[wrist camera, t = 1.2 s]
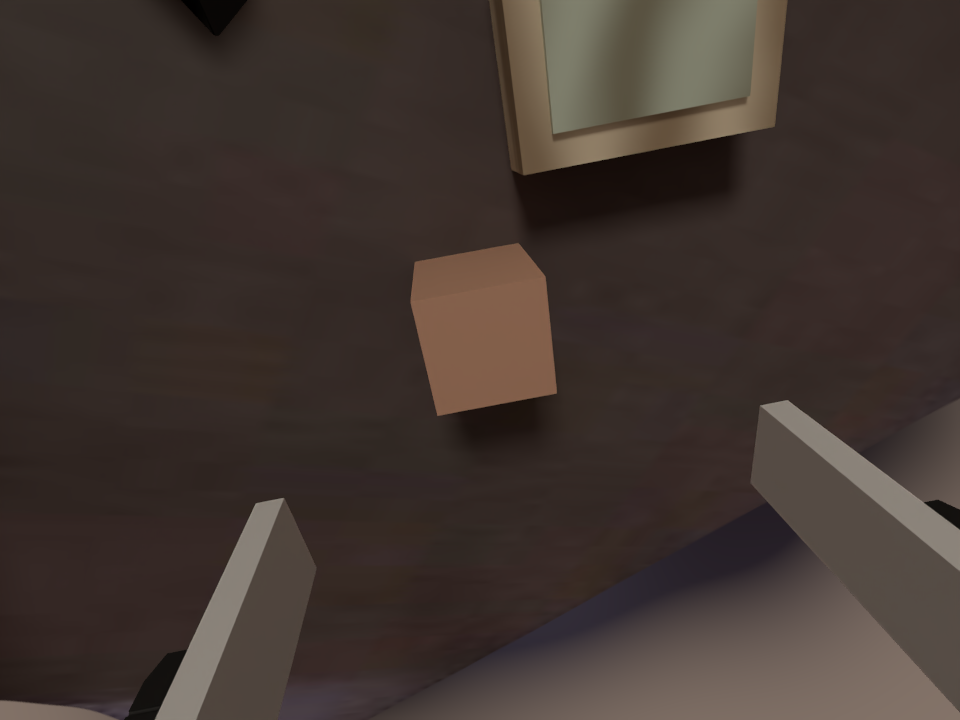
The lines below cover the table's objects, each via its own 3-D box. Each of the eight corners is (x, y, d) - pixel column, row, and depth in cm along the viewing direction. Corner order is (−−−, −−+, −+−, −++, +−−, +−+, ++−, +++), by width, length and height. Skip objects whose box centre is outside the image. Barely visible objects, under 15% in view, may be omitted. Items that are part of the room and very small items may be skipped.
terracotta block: (435, 355, 29) (437, 415, 23) (414, 261, 27) (410, 301, 20) (529, 337, 30) (557, 393, 23) (518, 242, 27) (545, 276, 21)
